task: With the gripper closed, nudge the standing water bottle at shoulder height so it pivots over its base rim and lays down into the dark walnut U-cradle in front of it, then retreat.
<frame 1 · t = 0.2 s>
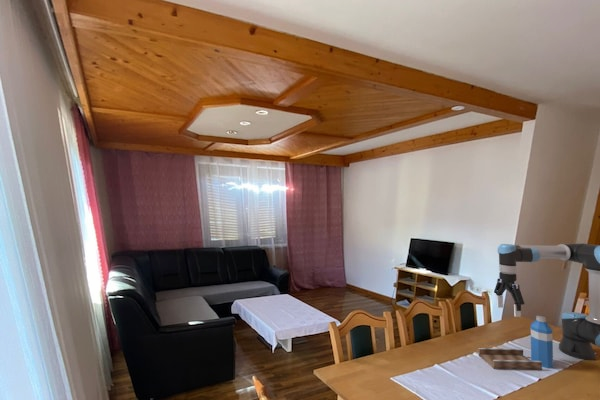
hand: (508, 311, 151), 28 cm above the table, fingers open, 13 cm apart
cradle: (508, 362, 151), on the table
water bottle: (541, 363, 151), on the table
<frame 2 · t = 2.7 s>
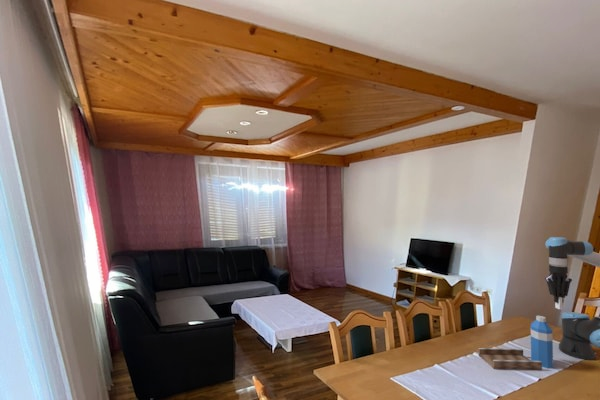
hand: (558, 308, 152), 30 cm above the table, fingers closed
nothing on the table moved.
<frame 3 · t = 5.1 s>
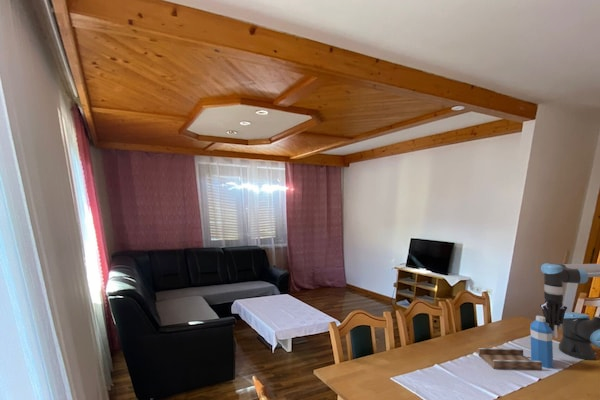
hand: (553, 336, 151), 15 cm above the table, fingers closed
water bottle: (541, 363, 151), on the table, touching gripper
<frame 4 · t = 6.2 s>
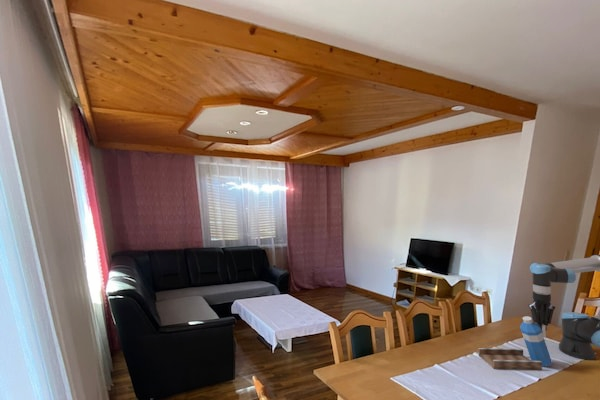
hand: (542, 336, 151), 15 cm above the table, fingers closed
water bottle: (541, 360, 151), point 1 cm above the table
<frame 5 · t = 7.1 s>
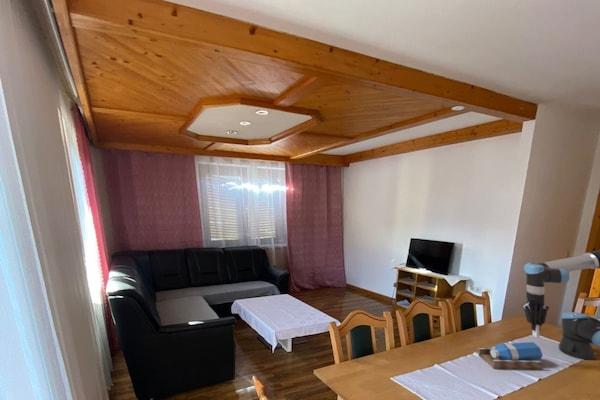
hand: (536, 336, 151), 14 cm above the table, fingers closed
water bottle: (534, 351, 152), point 6 cm above the table, touching cradle
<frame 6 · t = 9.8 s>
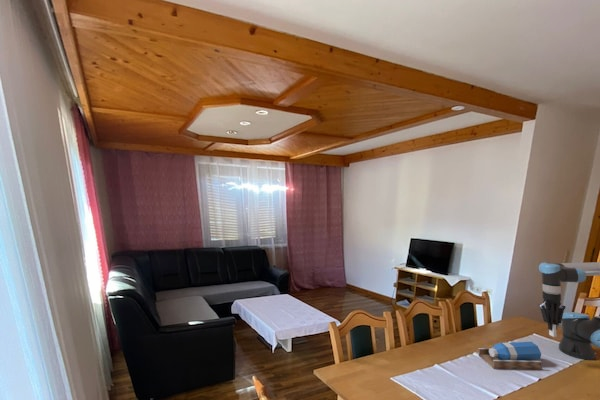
hand: (552, 335, 151), 15 cm above the table, fingers closed
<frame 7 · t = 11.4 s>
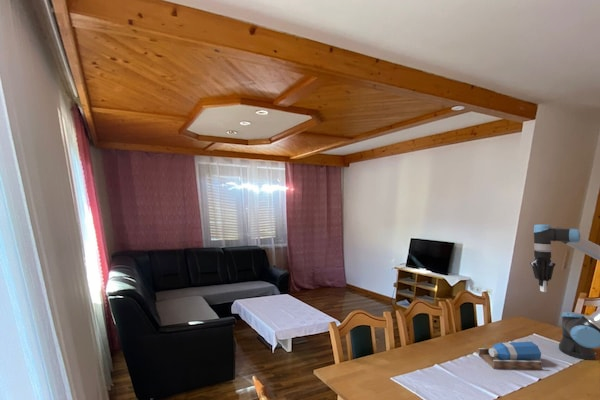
hand: (543, 291, 161), 36 cm above the table, fingers closed
nothing on the table moved.
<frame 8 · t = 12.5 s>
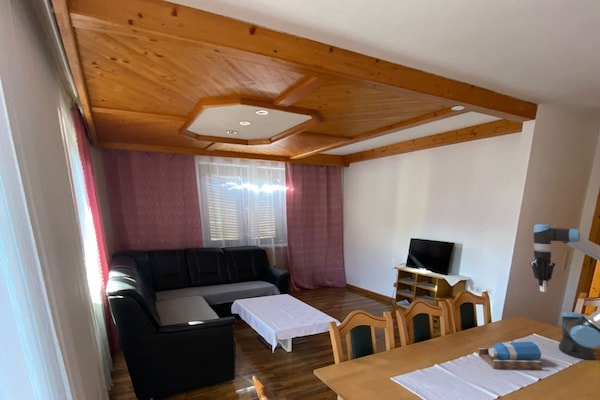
hand: (543, 291, 161), 36 cm above the table, fingers closed
nothing on the table moved.
at the end: water bottle tilted 90°; water bottle inside the target area (11.8 cm from its centre), point 5.8 cm above the table; water bottle touching cradle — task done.
